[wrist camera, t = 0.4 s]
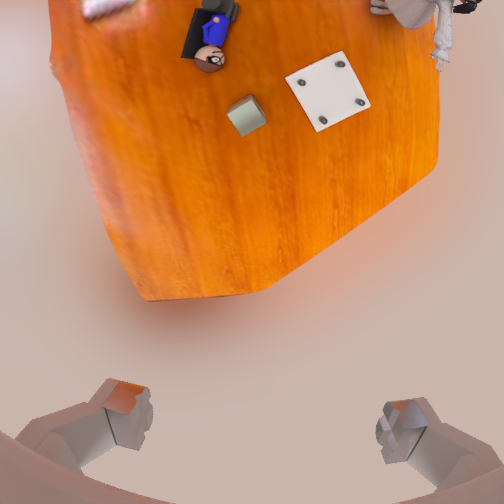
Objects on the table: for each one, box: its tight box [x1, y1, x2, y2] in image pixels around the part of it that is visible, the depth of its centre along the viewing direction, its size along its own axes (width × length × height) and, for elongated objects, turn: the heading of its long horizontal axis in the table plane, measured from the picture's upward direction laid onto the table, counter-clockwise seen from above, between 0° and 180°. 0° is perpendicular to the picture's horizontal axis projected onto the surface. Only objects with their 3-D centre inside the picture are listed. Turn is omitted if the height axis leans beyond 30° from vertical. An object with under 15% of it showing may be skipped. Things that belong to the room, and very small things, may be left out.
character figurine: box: [181, 0, 239, 72], centre depth 39 cm, size 8×7×15 cm
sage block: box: [227, 94, 267, 137], centre depth 47 cm, size 4×4×10 cm
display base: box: [284, 51, 371, 132], centre depth 47 cm, size 12×12×4 cm
